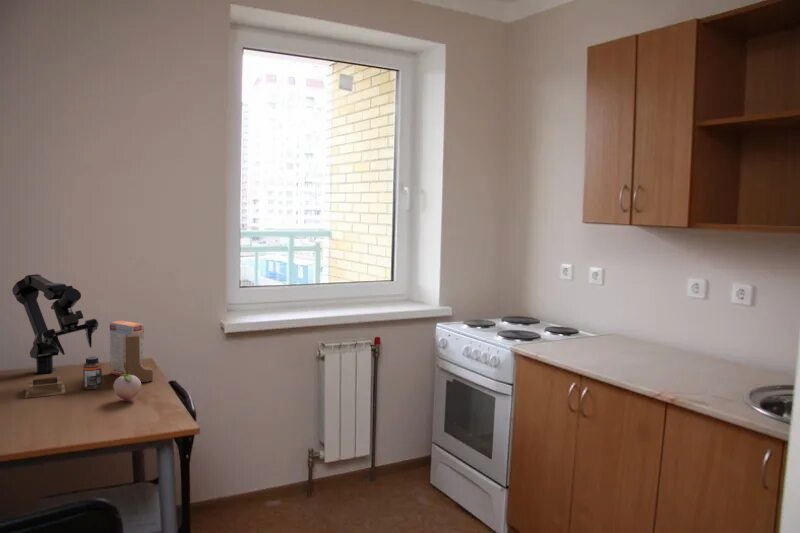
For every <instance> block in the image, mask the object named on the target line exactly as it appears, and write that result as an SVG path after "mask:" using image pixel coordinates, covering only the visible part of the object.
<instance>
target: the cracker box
mask: <svg viewBox="0 0 800 533" xmlns="http://www.w3.org/2000/svg"><path fill="white" fill-rule="evenodd" d="M144 332H145V329H144V324H143V323H138V322H133V321H125V320H115V321H110V322H109V364H110V368H109V371H110V372H109V373H110V374H112V375H115V376H119V377H120V376H121V375H122V374H126V335H131V334H138V335H139V341H140V364H141V365H142V366H143V367H145V352H144V351H145V348H144V346H145V342H144V341H145V338H144V337H145V336H144V335H145V333H144Z"/></svg>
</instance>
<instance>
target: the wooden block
mask: <svg viewBox="0 0 800 533" xmlns="http://www.w3.org/2000/svg"><path fill="white" fill-rule="evenodd" d="M126 372H127V374H129V375H134V376H136V377H137V378H138V379H139V380H140V381H141V382H142V383H150V382H149V381H152V382H153V381H154V380H153V379H154V377H153V376H154V375H153V374H154V372H153V368H152V367H150V366H144V367H143V366H142V365H141V364H140V341H139V335H138V334H131V335H126Z"/></svg>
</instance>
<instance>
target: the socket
mask: <svg viewBox="0 0 800 533" xmlns="http://www.w3.org/2000/svg"><path fill="white" fill-rule="evenodd" d="M64 394H66V388H65V382H64V383H63V382H62V376H53V377H50V376H49V377H40V378H33V379H30V378H29V379H28V387H27V386H26V387H25V399H29V398H30V397H32V398H39V397H41V398H42V397H46V396H47V397H49V396H56V395H57V396H58V395H64Z"/></svg>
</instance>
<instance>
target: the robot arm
mask: <svg viewBox="0 0 800 533" xmlns="http://www.w3.org/2000/svg"><path fill="white" fill-rule="evenodd" d="M40 292H43V297H44V298H45V299H47V300H48V301H52V305H51V306H50V309H51V310H53V312H54V314H55V317H56V320H57V322H58V325H59V328H60V330H55V329H54V328H50V329H48V326H47V323H46V321H45V319H44V316H43V313H42V310H41V308H40V305H39V303H38V297H39V294H40ZM12 295H14V298H15V299H16V301H17V302H18V303H20V304H21V305H22V306H23V307H24V310H25V313H26V314H27V318H28V320H29V323H30V326H31V328H32V331H33V334H34V339H33V341H32V347H31V349H30V351H29V356H30V358H31V359H34V360H35V363H36V364H35V365H36V370H35V371H33V374H34V375H35V374H36V375H37V374H52V373H54V371H56V370H57V367H54V357H55V356H58V355H59V353H60V354H62V355H63V356H65V354H66V353H65V351H64V348H63V346H62V344H61V342H60V339H59V337H60V336H64V335H67V334H71V333H76V332H79V331H83V330H84V331H85V337H86V340H87V343H88V346H89V348H90V349H91V348H92V345H93V344H92V340H93V339H92V337H93V336H92V335H93V334H94V333H95V331H97V330H98V327H99V322H98V320H97V319H96V318H92V319H86V320H84V324H79V323H80V320H81V319H84V314H83V311H82V310H80V309H79V310H76V311H74V312H75V313H74V312H73V309H72V308H74V306H75V305H77V303H78V302H79V301H80V300H81V298H82V294H81V291H79V289H76V288H74V287H73V285H66V284H65V283H61V282H52V281H50V280H48V279H47V278H45V277H43V276H42V275H41V274H38V273H37V274H36V273H35V274H28V275H25V276H24V278H22V279H20V280H18V281H16V283H15V284H14V285H13V287H12ZM54 300H55V301H54Z"/></svg>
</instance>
